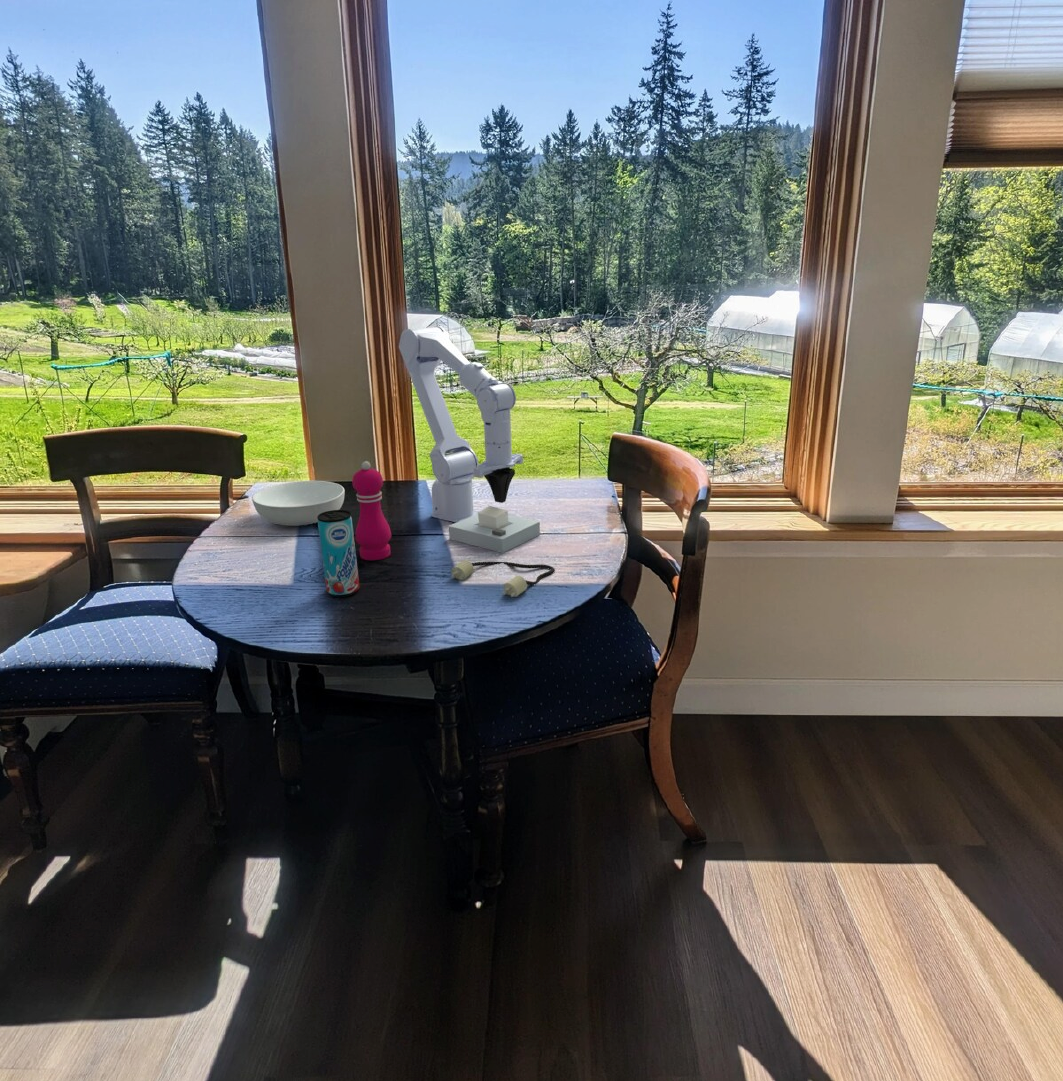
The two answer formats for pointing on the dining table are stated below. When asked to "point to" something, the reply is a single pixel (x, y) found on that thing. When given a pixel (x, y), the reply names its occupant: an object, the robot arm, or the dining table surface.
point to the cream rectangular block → (493, 518)
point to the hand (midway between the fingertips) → (500, 501)
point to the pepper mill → (371, 515)
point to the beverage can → (338, 552)
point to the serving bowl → (298, 501)
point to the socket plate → (494, 533)
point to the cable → (512, 586)
